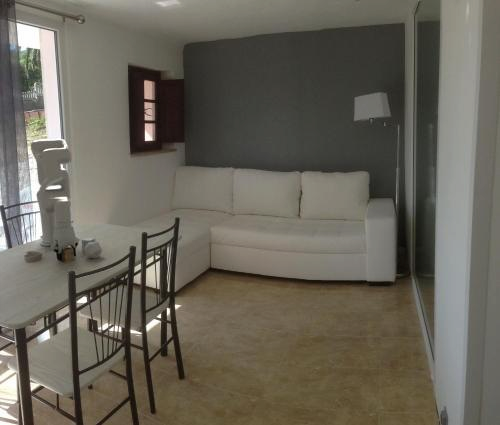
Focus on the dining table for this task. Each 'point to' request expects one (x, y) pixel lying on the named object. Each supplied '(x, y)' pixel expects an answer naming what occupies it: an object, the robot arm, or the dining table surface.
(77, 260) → the dining table surface
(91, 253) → the die
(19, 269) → the dining table surface
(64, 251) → the walnut block
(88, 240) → the grey block
